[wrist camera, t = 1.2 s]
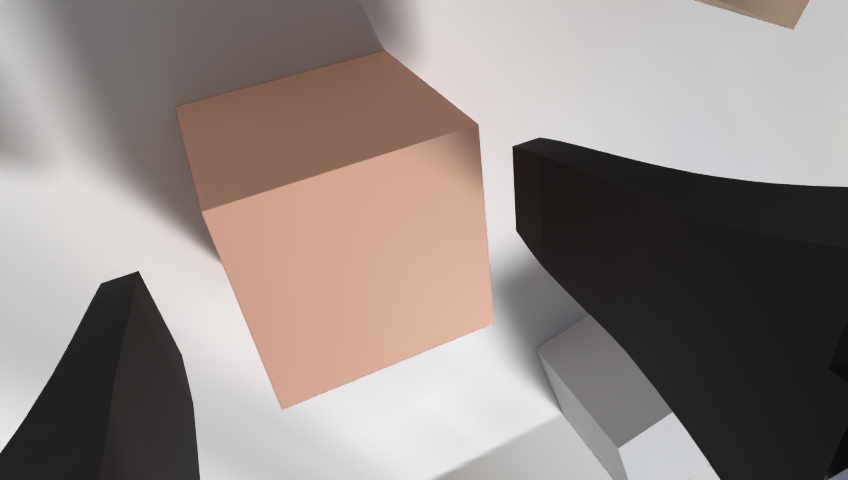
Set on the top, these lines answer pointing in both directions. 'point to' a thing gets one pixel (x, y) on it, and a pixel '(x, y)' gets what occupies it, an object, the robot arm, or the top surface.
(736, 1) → the walnut block
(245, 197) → the terracotta cube
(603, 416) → the grey cube
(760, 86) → the top surface
